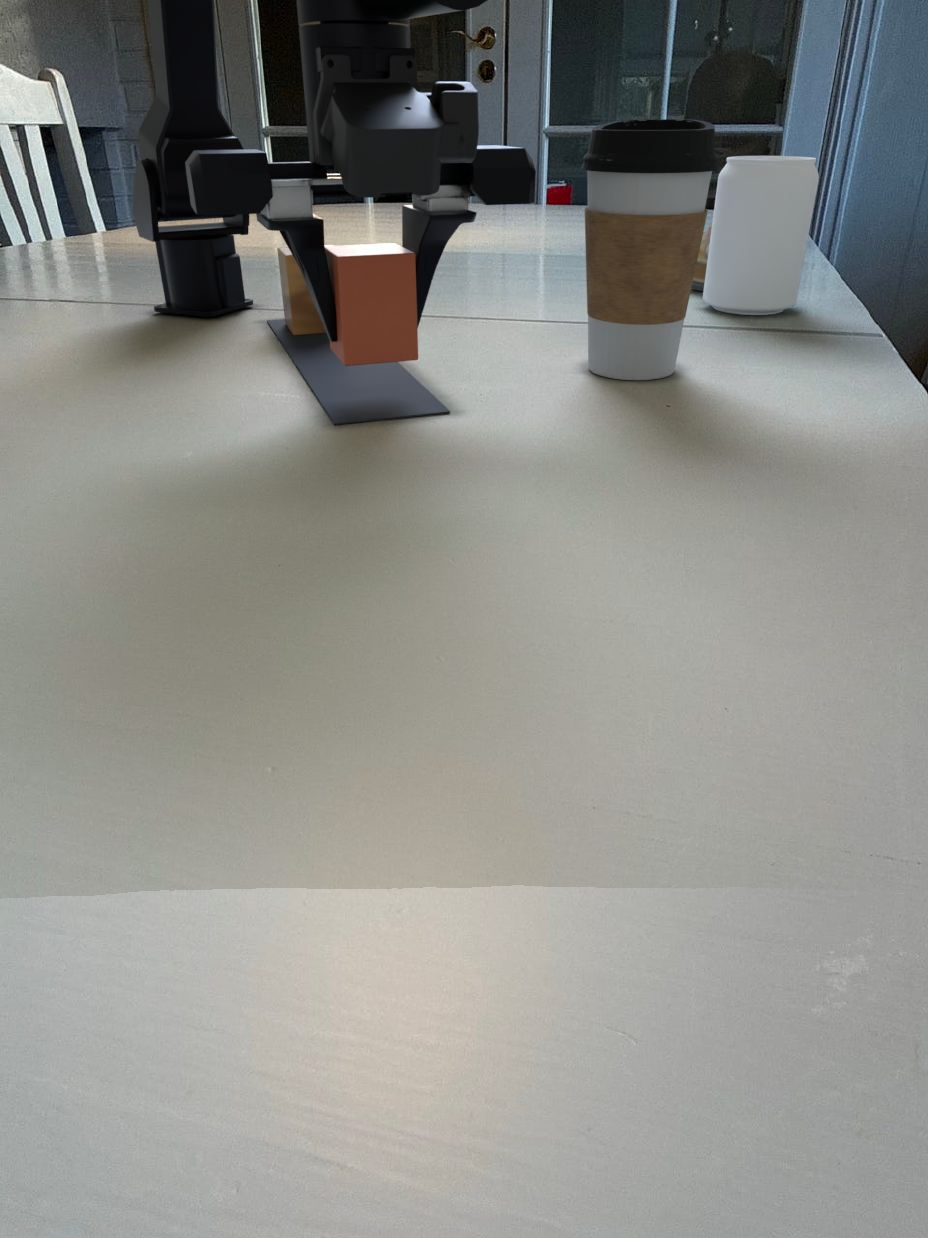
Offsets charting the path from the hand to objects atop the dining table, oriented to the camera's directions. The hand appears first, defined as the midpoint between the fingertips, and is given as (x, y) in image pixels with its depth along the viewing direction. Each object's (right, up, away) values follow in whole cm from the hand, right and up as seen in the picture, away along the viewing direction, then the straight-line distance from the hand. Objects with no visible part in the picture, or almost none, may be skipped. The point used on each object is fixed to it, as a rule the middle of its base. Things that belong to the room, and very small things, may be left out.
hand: (372, 337), depth 53 cm
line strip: (-3, +2, +10) cm, 11 cm away
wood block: (-7, +7, +19) cm, 21 cm away
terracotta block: (0, -1, 0) cm, 1 cm away
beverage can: (+31, +11, +26) cm, 42 cm away
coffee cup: (+17, 0, +8) cm, 19 cm away
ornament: (+31, +16, +34) cm, 49 cm away
